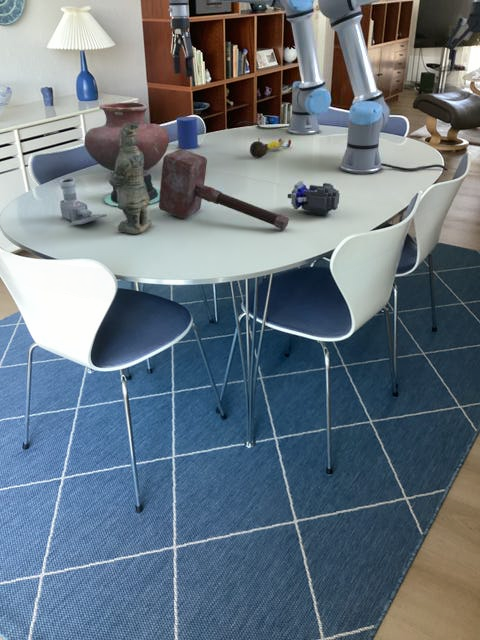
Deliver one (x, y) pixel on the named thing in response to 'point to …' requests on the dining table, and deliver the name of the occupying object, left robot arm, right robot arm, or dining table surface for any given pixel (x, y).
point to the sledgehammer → (200, 190)
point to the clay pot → (105, 138)
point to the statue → (131, 182)
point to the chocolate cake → (152, 192)
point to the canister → (187, 132)
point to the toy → (315, 198)
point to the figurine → (266, 147)
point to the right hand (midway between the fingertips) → (471, 71)
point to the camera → (74, 204)
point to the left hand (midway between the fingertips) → (183, 75)
